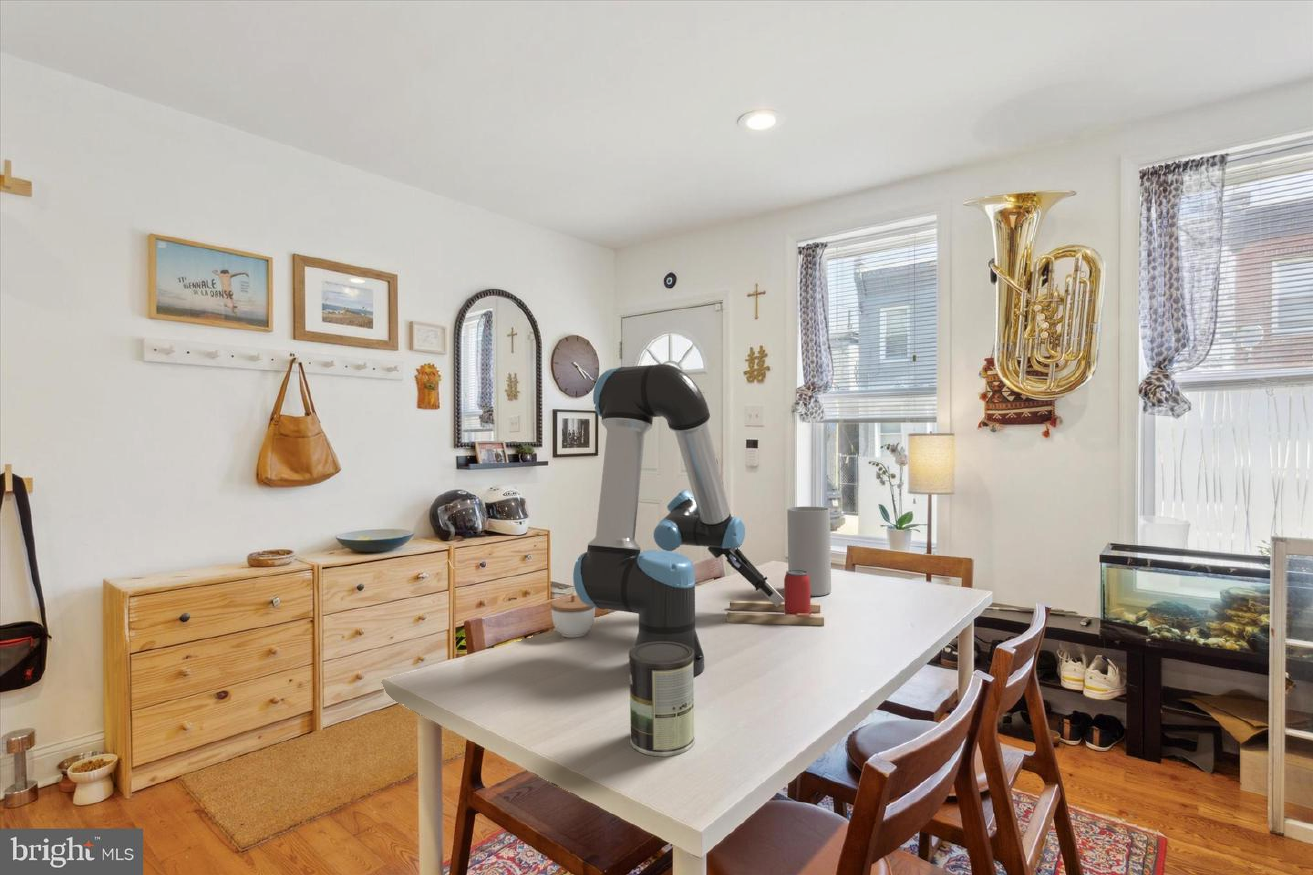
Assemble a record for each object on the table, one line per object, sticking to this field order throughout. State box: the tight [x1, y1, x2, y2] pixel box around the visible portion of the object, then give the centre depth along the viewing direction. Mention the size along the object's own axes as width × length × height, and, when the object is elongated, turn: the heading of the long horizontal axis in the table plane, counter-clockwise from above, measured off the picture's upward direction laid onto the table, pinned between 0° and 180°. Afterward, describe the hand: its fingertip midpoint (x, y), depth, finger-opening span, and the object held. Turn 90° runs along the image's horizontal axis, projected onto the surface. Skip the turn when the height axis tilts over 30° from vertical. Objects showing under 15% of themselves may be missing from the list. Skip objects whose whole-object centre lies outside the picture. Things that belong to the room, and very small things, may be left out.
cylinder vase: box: [786, 506, 832, 597], centre depth 192 cm, size 12×12×25 cm
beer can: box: [783, 570, 812, 615], centre depth 165 cm, size 7×7×12 cm
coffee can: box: [628, 641, 696, 757], centre depth 100 cm, size 10×10×14 cm
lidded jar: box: [550, 594, 596, 638], centre depth 155 cm, size 11×11×9 cm
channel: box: [726, 600, 825, 627], centre depth 167 cm, size 24×14×2 cm, turn 80°
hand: (780, 602), depth 168 cm, fingers closed
